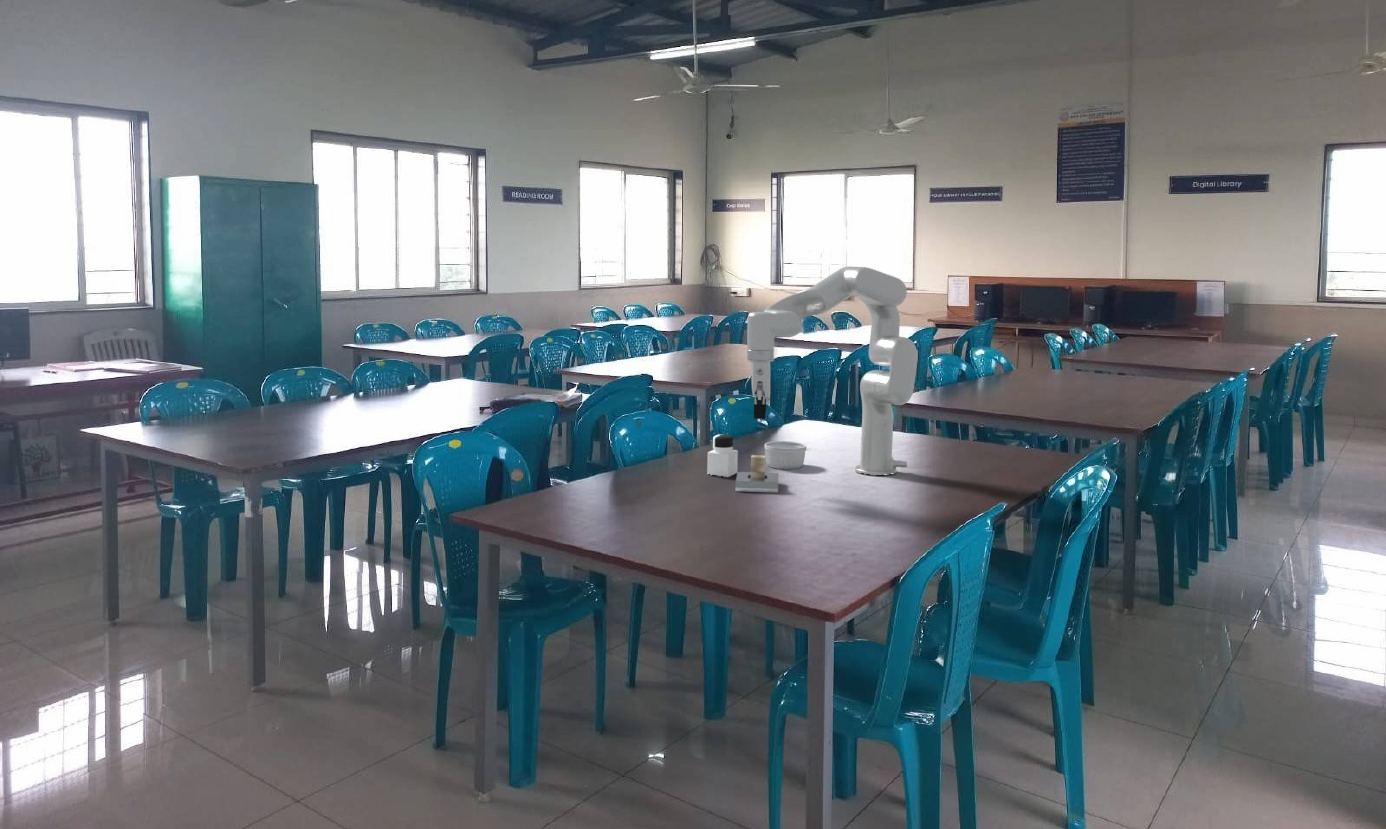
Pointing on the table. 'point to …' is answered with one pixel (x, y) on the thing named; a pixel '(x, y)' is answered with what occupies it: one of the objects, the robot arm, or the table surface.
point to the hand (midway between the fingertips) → (759, 415)
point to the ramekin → (785, 454)
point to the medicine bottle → (722, 457)
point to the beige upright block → (758, 466)
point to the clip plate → (757, 482)
